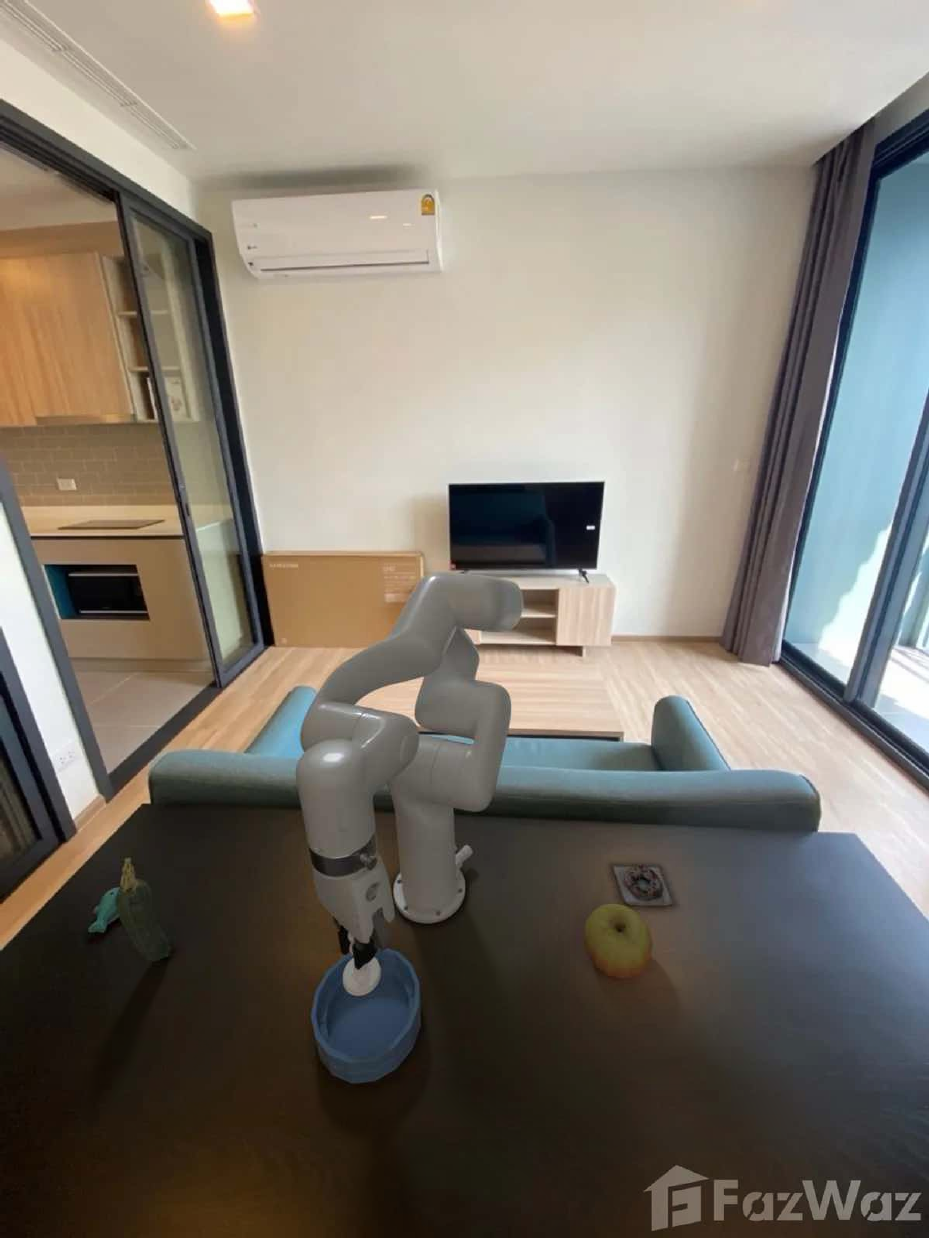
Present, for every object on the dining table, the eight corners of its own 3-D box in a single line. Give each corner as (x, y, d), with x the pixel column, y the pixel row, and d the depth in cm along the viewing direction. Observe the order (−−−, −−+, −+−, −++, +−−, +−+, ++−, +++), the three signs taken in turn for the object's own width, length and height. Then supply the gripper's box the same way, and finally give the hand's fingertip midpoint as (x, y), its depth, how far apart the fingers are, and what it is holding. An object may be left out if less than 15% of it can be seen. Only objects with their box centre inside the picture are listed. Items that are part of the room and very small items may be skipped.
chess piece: (387, 963, 66) (381, 910, 63) (369, 1001, 62) (361, 947, 58) (355, 951, 68) (347, 899, 64) (335, 988, 64) (325, 934, 60)
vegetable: (158, 978, 75) (120, 881, 67) (133, 972, 76) (93, 876, 68) (179, 949, 79) (146, 855, 71) (155, 944, 80) (120, 850, 72)
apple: (639, 1004, 70) (645, 967, 67) (573, 968, 75) (576, 931, 72) (655, 946, 78) (661, 910, 75) (594, 916, 83) (598, 881, 80)
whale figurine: (143, 897, 88) (137, 881, 86) (113, 937, 81) (106, 921, 79) (112, 896, 88) (105, 880, 87) (79, 936, 81) (72, 919, 80)
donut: (623, 905, 84) (624, 896, 84) (612, 866, 92) (613, 858, 91) (673, 906, 84) (675, 897, 83) (658, 867, 91) (660, 859, 90)
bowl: (376, 949, 78) (373, 927, 76) (442, 1014, 69) (440, 991, 68) (296, 1028, 68) (290, 1005, 66) (361, 1115, 60) (357, 1091, 58)
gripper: (416, 859, 54) (424, 970, 61) (329, 794, 64) (345, 896, 71) (361, 907, 49) (377, 1023, 56) (276, 828, 59) (298, 935, 66)
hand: (359, 951), depth 63 cm, fingers closed on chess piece
